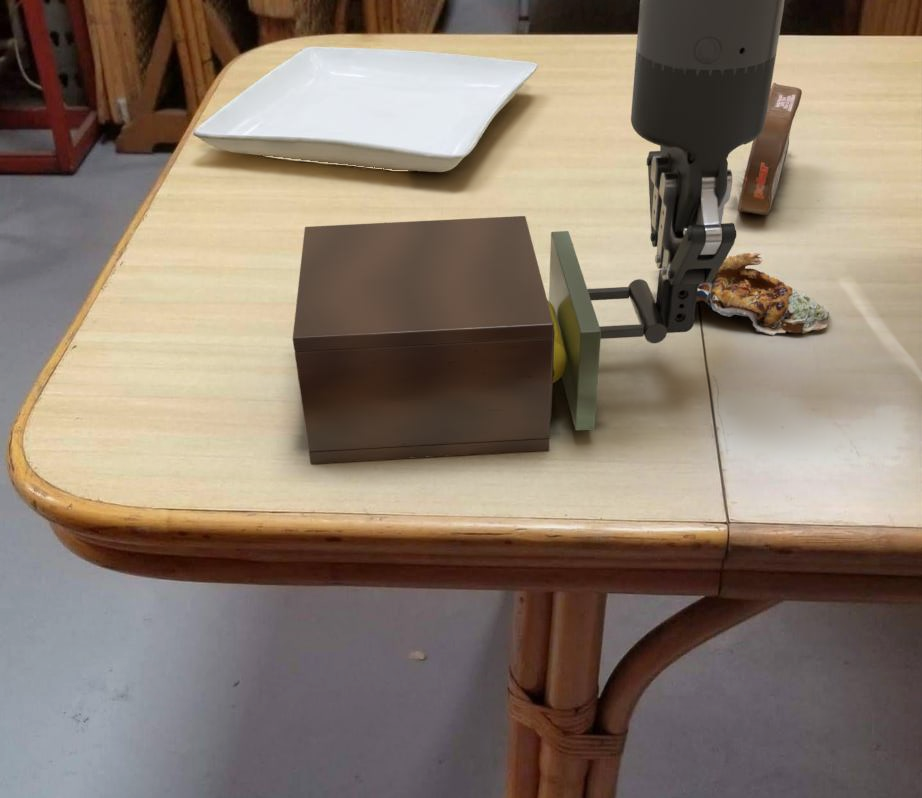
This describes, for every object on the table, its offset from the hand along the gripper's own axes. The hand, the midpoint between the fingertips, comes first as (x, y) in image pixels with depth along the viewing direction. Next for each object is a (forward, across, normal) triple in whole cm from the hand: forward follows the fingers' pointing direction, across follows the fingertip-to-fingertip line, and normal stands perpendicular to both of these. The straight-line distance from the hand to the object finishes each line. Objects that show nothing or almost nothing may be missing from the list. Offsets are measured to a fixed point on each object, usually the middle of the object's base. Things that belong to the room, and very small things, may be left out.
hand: (672, 326), depth 69 cm
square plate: (+4, +50, +19) cm, 54 cm away
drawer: (+3, 0, +10) cm, 11 cm away
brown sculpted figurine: (+4, +9, -8) cm, 13 cm away
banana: (0, 0, +10) cm, 10 cm away
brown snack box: (+4, +29, -15) cm, 33 cm away
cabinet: (+4, 0, +16) cm, 17 cm away
